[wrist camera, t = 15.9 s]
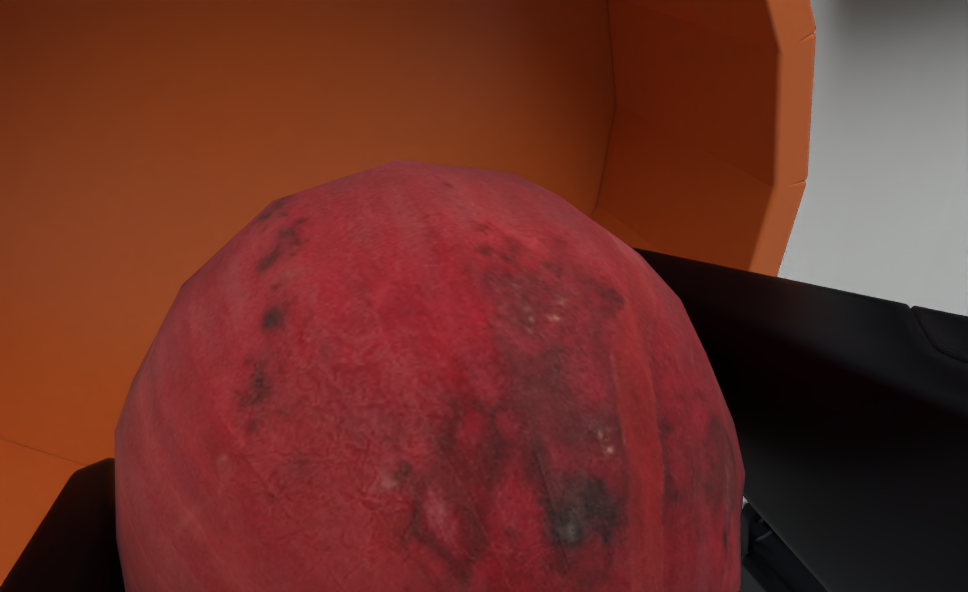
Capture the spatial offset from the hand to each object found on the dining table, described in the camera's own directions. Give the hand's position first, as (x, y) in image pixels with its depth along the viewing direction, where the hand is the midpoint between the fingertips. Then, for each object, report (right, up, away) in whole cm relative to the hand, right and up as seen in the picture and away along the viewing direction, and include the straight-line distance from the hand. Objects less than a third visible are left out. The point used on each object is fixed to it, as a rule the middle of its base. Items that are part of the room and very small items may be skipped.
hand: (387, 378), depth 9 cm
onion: (-1, +1, +2) cm, 2 cm away
